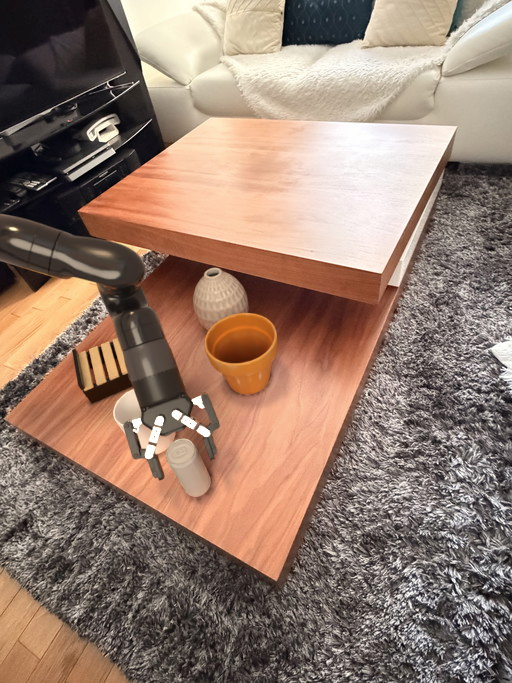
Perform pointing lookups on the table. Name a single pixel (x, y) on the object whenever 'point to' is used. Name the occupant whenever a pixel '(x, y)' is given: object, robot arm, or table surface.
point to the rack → (101, 371)
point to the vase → (218, 297)
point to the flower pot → (243, 350)
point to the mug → (131, 410)
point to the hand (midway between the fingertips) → (187, 468)
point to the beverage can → (188, 467)
